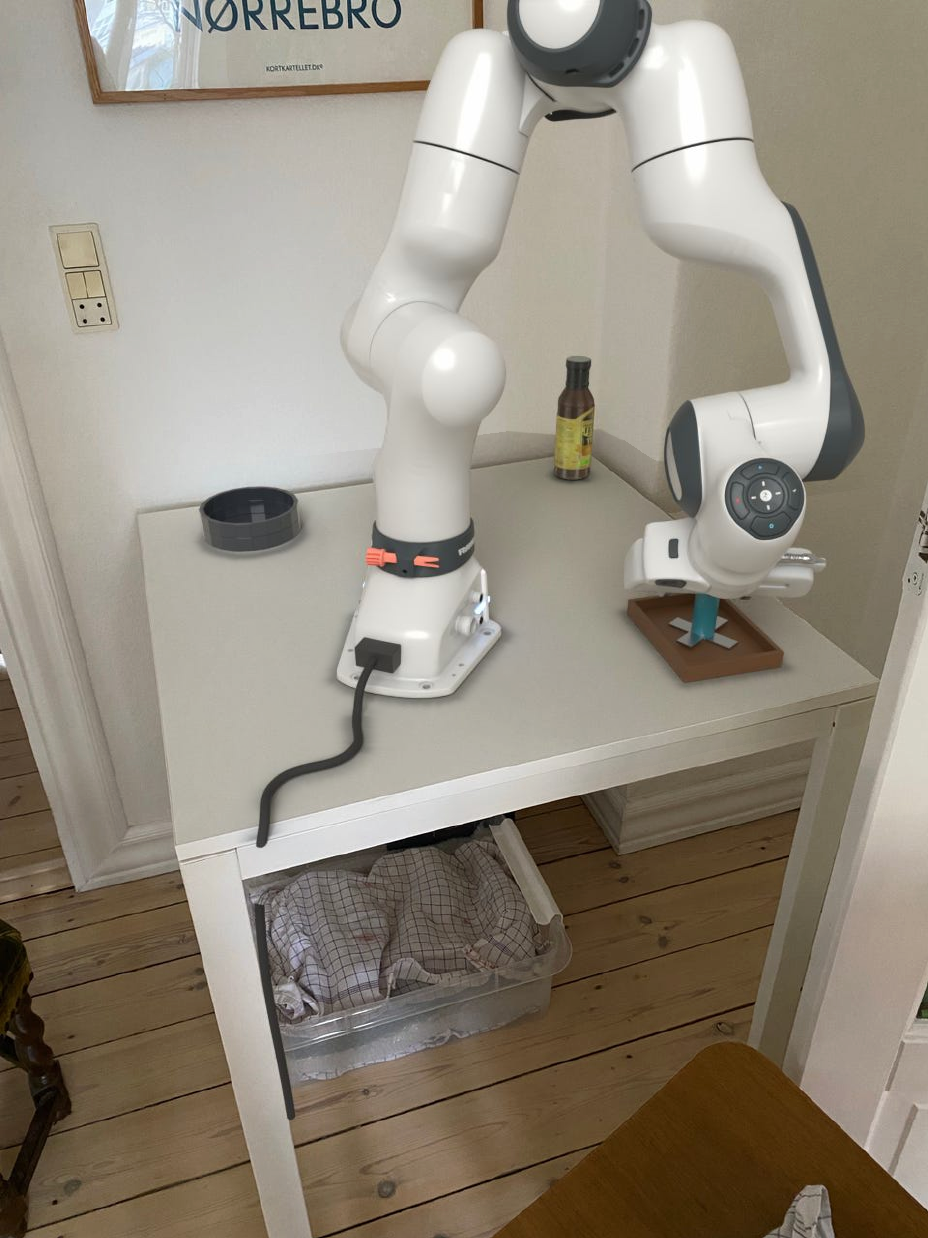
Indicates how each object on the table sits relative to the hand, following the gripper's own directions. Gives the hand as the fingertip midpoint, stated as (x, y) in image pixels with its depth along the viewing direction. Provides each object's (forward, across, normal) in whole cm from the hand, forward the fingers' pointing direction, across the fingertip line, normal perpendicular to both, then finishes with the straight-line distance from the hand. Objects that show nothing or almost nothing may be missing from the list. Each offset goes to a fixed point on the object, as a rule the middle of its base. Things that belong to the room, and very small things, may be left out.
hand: (705, 592), depth 109 cm
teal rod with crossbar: (+4, 0, +4) cm, 6 cm away
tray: (+4, 0, +5) cm, 6 cm away
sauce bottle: (+42, +15, -32) cm, 55 cm away
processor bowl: (+22, +63, -12) cm, 68 cm away
